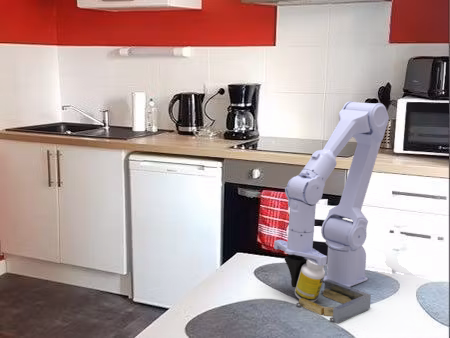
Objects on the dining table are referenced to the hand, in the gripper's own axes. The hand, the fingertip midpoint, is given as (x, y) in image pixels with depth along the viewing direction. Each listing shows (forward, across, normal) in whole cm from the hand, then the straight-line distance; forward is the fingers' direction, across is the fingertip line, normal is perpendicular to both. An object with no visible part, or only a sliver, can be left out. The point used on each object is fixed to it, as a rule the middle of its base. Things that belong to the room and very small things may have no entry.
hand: (296, 286), depth 131 cm
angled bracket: (+2, +9, +2) cm, 9 cm away
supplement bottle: (+2, +2, +1) cm, 3 cm away
